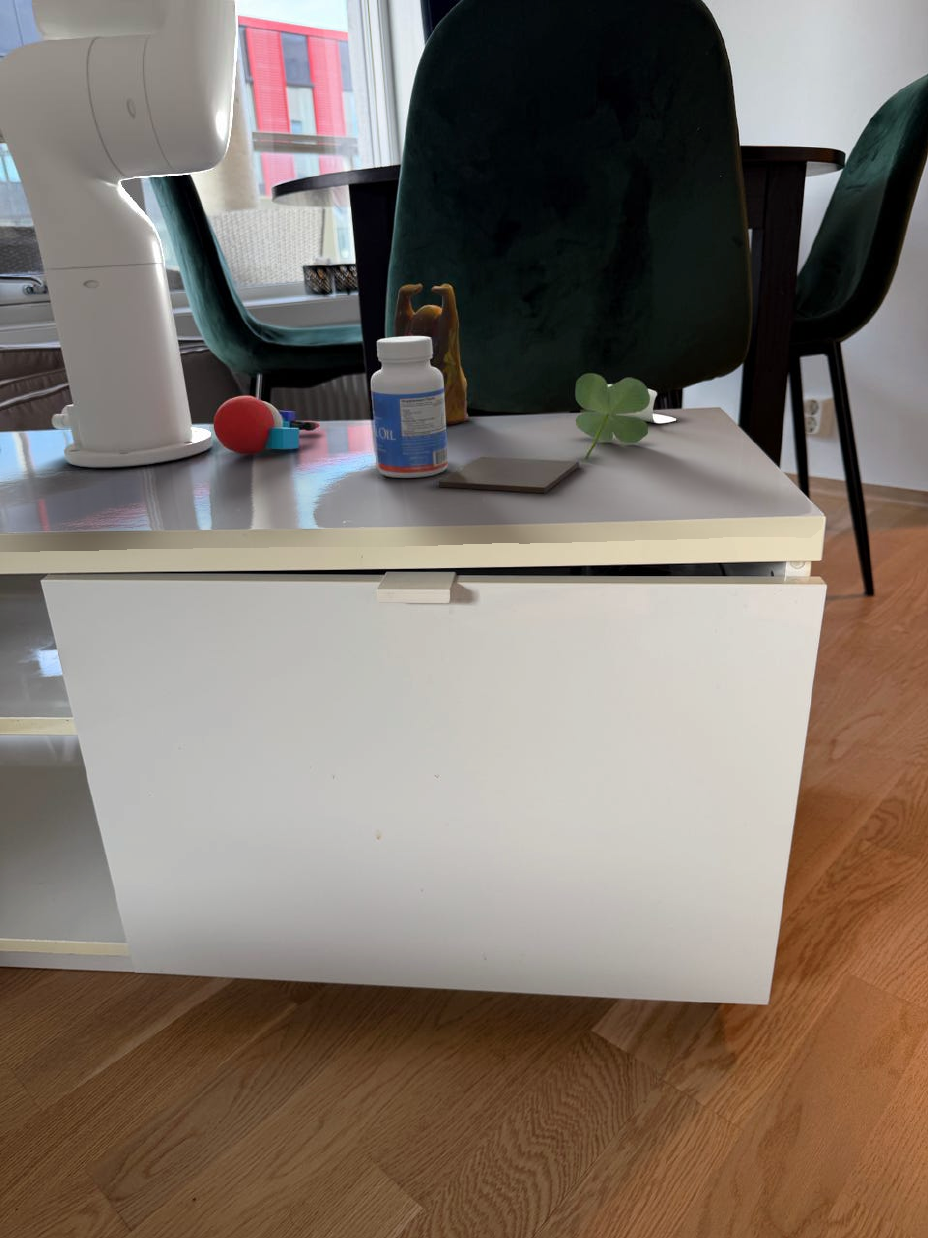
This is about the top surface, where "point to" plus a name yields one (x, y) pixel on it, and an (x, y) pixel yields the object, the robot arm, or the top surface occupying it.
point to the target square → (510, 474)
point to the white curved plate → (649, 411)
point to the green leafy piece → (611, 408)
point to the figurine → (437, 343)
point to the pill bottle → (409, 409)
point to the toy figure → (257, 426)
